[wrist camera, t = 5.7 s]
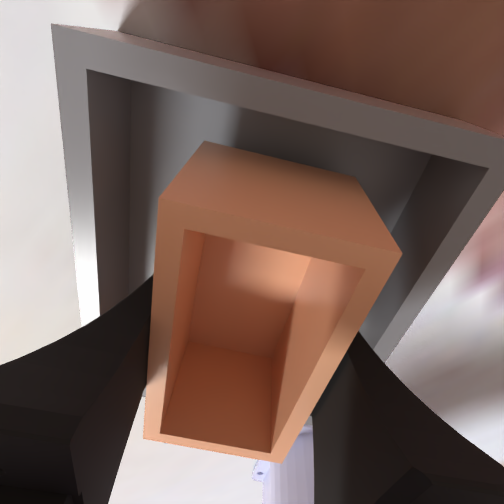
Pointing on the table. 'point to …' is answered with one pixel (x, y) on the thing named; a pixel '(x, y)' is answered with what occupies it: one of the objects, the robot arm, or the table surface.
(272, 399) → the box
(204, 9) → the table surface
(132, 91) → the big crate
